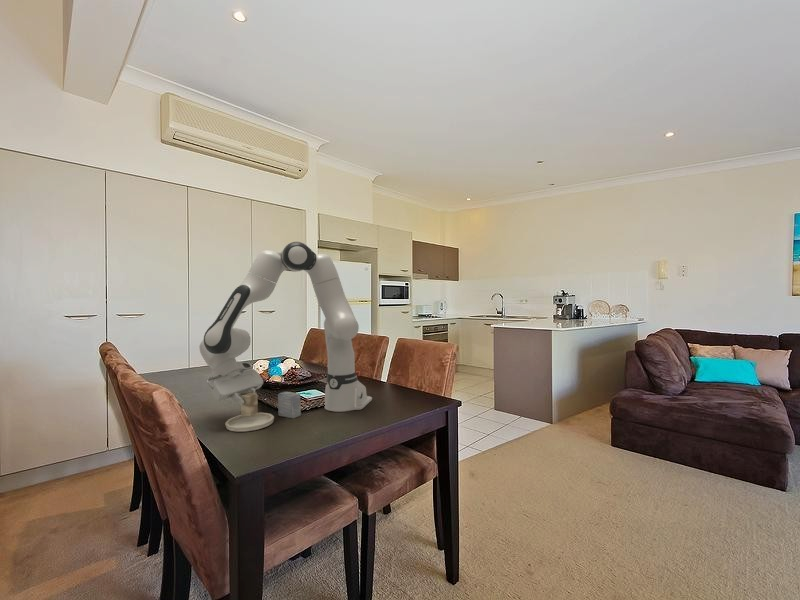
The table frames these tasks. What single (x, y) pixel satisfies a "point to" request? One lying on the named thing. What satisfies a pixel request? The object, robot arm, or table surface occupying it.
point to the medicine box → (289, 404)
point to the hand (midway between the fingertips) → (249, 401)
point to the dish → (249, 422)
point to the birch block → (249, 404)
